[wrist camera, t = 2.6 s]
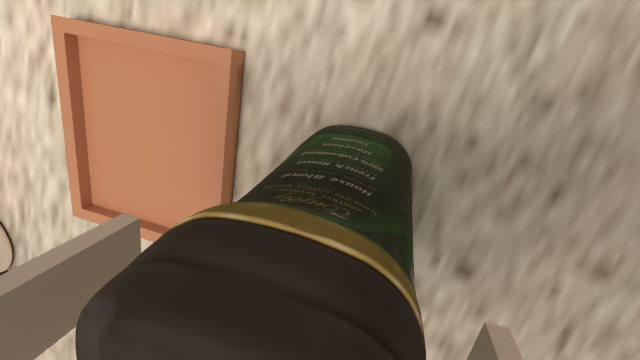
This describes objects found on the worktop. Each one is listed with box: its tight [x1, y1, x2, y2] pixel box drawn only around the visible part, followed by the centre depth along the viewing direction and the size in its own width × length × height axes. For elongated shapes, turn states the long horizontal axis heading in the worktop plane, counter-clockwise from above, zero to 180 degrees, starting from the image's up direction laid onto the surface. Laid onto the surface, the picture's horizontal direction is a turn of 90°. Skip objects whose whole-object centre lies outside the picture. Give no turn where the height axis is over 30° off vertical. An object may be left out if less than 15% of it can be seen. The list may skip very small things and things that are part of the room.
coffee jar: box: [76, 126, 426, 360], centre depth 14 cm, size 10×8×19 cm
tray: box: [51, 15, 245, 242], centre depth 24 cm, size 14×16×2 cm
